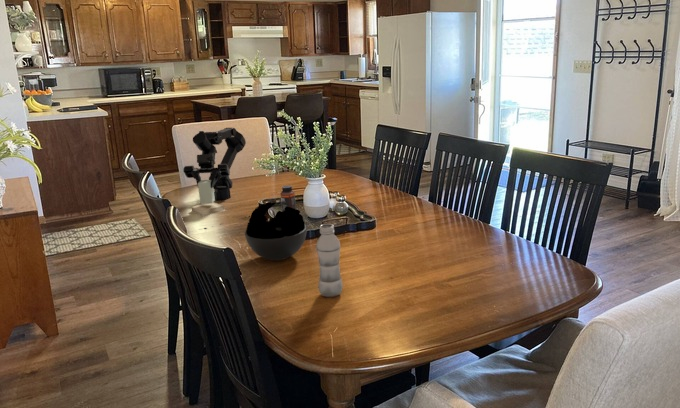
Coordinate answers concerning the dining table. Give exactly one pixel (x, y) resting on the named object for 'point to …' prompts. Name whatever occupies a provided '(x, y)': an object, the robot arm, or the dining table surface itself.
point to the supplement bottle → (288, 197)
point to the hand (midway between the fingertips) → (205, 187)
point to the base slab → (211, 213)
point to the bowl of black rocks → (275, 232)
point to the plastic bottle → (329, 262)
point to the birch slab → (207, 208)
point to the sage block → (206, 192)
